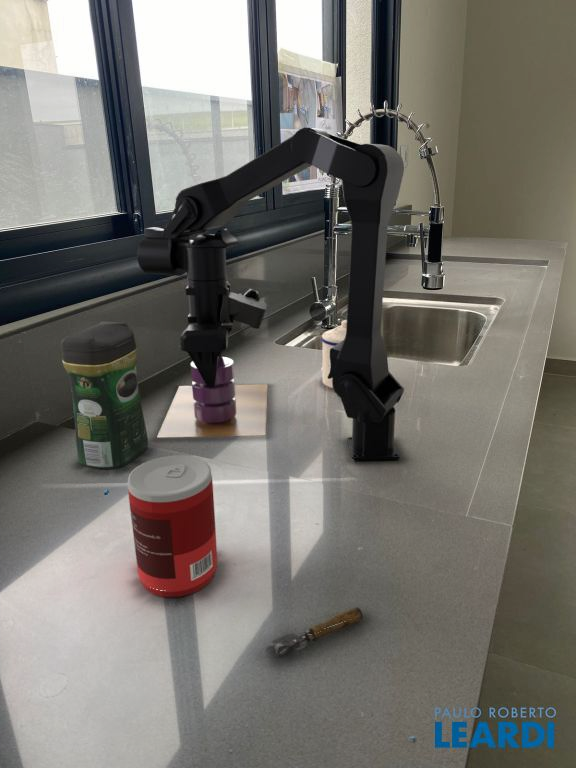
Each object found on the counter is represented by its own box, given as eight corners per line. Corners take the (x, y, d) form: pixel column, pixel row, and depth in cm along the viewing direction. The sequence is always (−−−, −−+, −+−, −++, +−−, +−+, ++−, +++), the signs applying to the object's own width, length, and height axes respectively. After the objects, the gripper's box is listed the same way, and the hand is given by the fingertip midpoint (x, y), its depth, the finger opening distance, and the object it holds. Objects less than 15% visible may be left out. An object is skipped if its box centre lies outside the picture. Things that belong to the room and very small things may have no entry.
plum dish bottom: (235, 425, 92) (234, 407, 91) (191, 426, 92) (190, 408, 91) (237, 409, 98) (236, 391, 97) (197, 410, 98) (195, 392, 97)
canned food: (220, 547, 63) (214, 453, 60) (214, 598, 56) (207, 494, 52) (147, 549, 63) (136, 455, 59) (131, 601, 56) (118, 497, 52)
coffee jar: (110, 438, 89) (94, 315, 83) (156, 445, 87) (144, 319, 81) (67, 468, 81) (46, 333, 74) (118, 476, 78) (100, 338, 72)
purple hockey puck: (233, 388, 90) (232, 368, 89) (188, 389, 90) (187, 369, 89) (236, 373, 96) (235, 355, 95) (194, 374, 96) (193, 356, 95)
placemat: (265, 437, 89) (265, 435, 89) (156, 440, 89) (156, 437, 88) (267, 386, 109) (267, 384, 109) (179, 388, 109) (179, 385, 109)
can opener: (356, 614, 53) (357, 603, 53) (370, 631, 51) (370, 620, 51) (261, 646, 50) (261, 635, 50) (272, 666, 48) (271, 655, 48)
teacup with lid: (359, 395, 104) (361, 329, 100) (312, 387, 109) (312, 324, 105) (383, 374, 114) (386, 314, 110) (339, 368, 118) (340, 309, 114)
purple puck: (234, 407, 91) (233, 388, 90) (190, 408, 91) (188, 389, 90) (236, 391, 97) (236, 373, 96) (195, 392, 97) (194, 374, 96)
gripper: (261, 289, 79) (264, 400, 84) (263, 266, 96) (266, 359, 102) (175, 290, 79) (184, 402, 84) (194, 268, 96) (200, 361, 102)
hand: (213, 379), depth 93 cm, fingers closed on purple hockey puck, 6 cm apart
